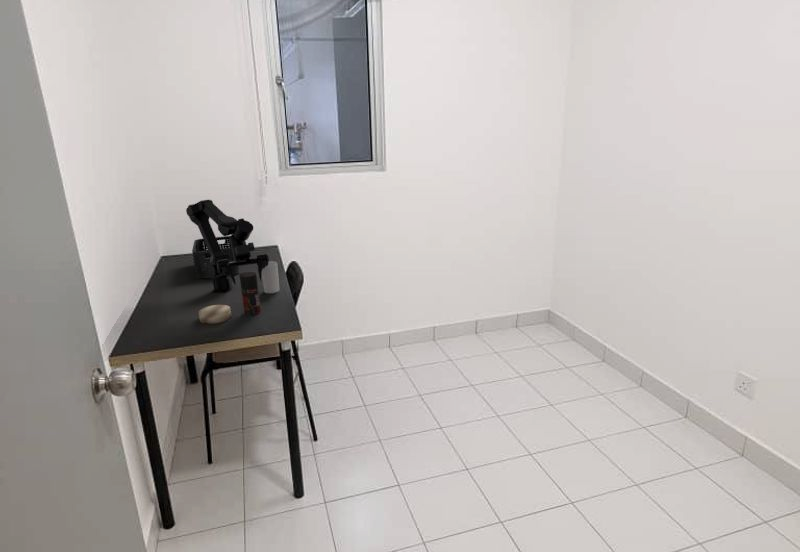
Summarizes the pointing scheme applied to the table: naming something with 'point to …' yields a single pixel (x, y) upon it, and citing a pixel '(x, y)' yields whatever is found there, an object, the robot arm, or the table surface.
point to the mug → (270, 278)
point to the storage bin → (202, 256)
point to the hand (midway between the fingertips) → (248, 282)
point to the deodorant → (250, 293)
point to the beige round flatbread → (214, 314)
